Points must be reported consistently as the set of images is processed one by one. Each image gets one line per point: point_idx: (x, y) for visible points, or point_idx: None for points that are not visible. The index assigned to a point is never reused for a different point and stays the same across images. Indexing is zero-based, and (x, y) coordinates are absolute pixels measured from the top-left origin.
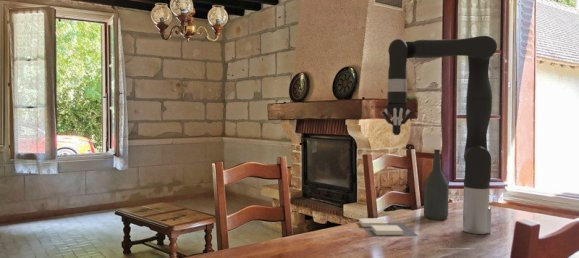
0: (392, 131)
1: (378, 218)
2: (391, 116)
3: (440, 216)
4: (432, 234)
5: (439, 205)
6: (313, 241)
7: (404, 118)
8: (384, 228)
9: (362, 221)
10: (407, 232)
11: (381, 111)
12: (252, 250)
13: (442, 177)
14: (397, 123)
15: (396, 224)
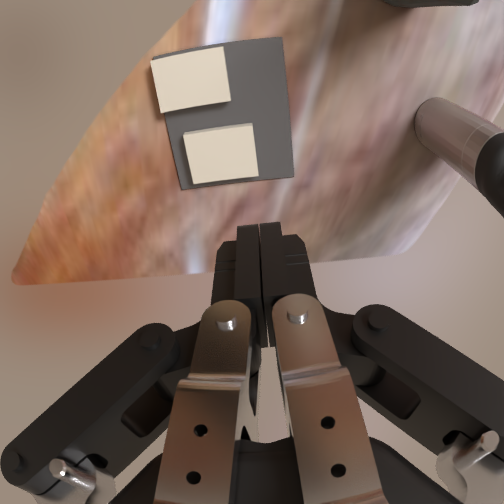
0: (216, 257)
1: (207, 49)
2: (171, 427)
3: (405, 6)
4: (333, 147)
5: (417, 4)
6: (85, 229)
7: (421, 383)
8: (214, 162)
9: (159, 96)
10: (274, 145)
11: (14, 481)
12: (35, 277)
13: None
14: (277, 357)
15: (260, 63)
